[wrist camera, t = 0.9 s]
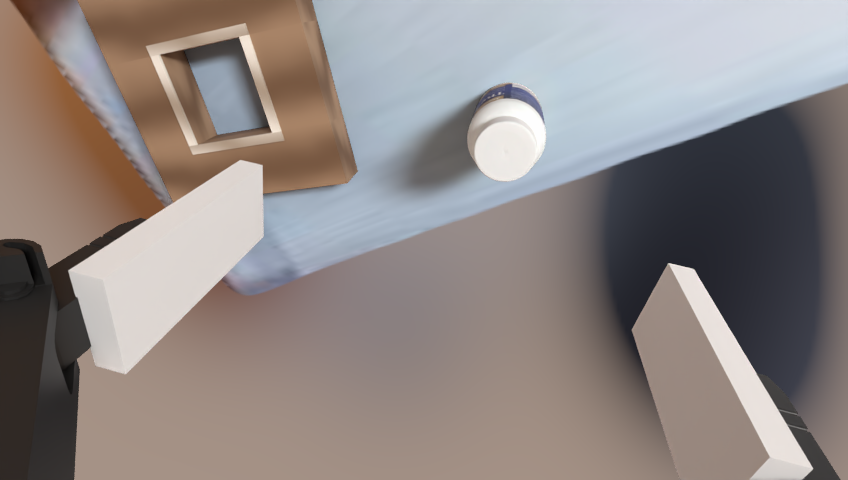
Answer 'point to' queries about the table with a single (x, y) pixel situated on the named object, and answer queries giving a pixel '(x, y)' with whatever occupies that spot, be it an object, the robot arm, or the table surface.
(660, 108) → the table surface
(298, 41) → the board
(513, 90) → the pill bottle
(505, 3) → the table surface
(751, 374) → the robot arm
